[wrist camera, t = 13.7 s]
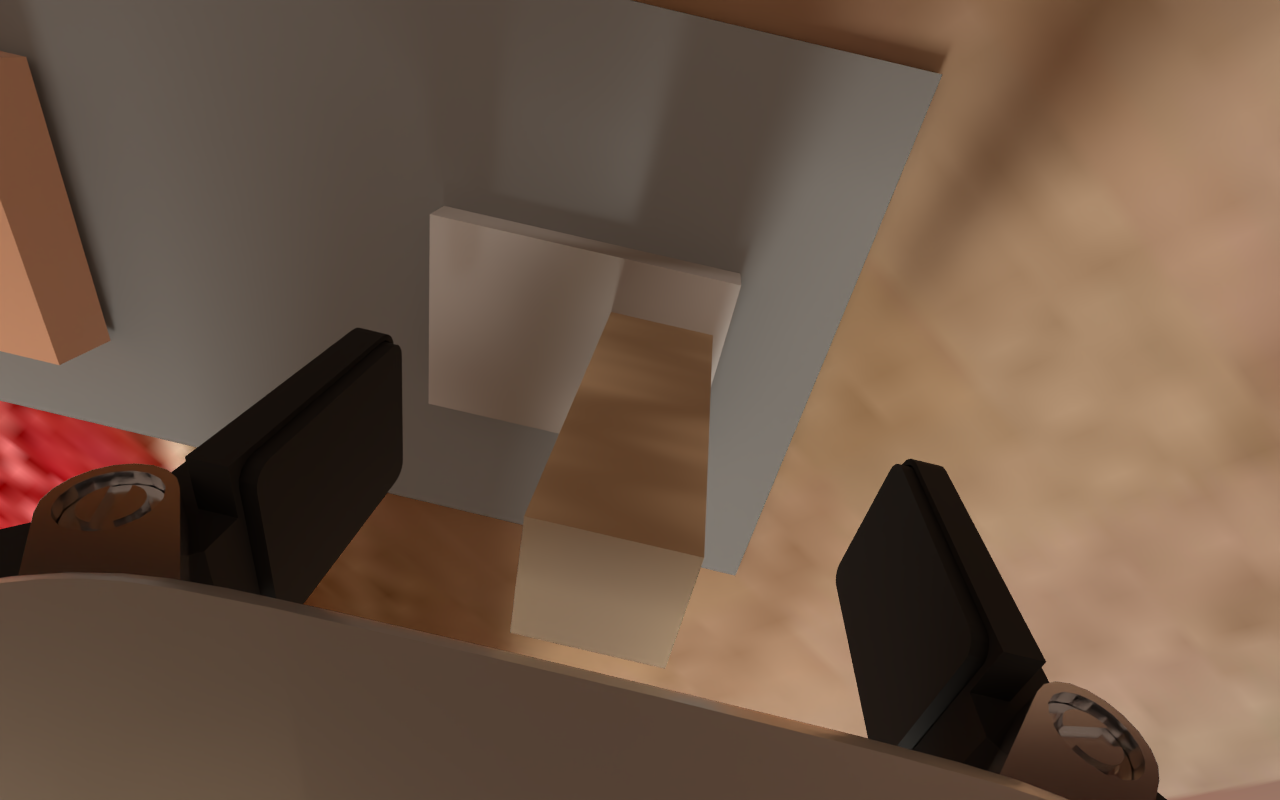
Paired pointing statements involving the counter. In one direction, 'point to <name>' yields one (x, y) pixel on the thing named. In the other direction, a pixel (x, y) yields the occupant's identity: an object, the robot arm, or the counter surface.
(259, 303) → the mat
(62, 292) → the tile
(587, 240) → the wooden stand
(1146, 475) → the counter surface
